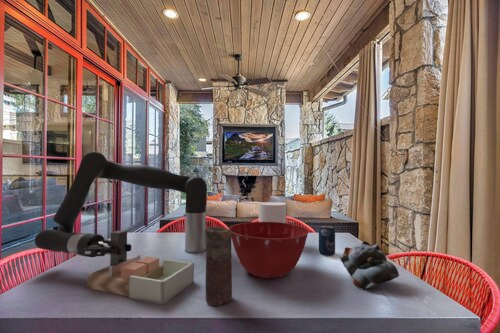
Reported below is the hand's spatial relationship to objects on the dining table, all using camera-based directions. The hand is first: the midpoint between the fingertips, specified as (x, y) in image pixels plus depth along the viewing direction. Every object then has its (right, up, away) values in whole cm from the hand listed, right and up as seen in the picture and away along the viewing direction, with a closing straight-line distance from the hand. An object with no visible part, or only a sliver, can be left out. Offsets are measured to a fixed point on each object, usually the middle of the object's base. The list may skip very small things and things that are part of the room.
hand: (125, 249), depth 84 cm
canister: (+51, -12, +45) cm, 69 cm away
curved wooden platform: (+1, -11, 0) cm, 11 cm away
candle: (+31, -11, -11) cm, 35 cm away
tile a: (+7, -7, +1) cm, 10 cm away
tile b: (+5, -6, -5) cm, 9 cm away
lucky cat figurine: (+78, -11, 0) cm, 79 cm away
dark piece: (-3, -7, +1) cm, 7 cm away
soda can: (+74, -11, +29) cm, 80 cm away
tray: (+14, -10, -5) cm, 18 cm away
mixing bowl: (+47, -11, +10) cm, 49 cm away
